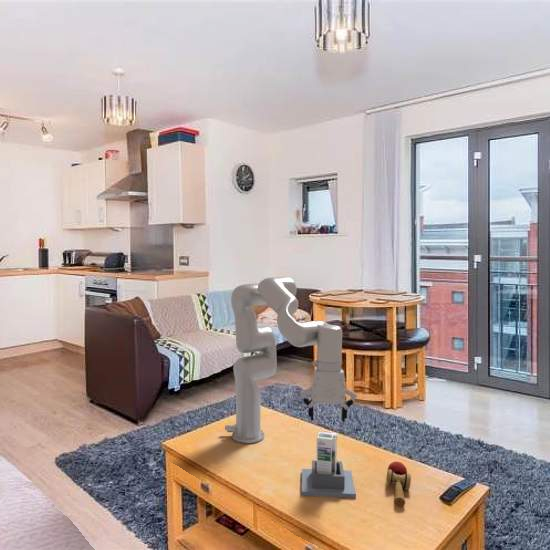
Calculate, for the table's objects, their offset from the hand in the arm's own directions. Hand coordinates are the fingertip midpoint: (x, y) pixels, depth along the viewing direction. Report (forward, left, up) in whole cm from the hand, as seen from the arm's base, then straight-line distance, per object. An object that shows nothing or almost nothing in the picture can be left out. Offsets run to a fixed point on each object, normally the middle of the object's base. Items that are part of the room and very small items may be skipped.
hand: (327, 419), depth 139 cm
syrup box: (0, 0, -20) cm, 20 cm away
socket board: (0, 0, -21) cm, 21 cm away
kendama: (+22, -2, -21) cm, 30 cm away
